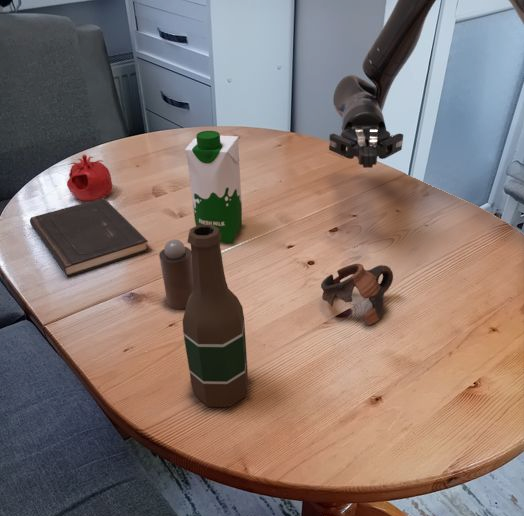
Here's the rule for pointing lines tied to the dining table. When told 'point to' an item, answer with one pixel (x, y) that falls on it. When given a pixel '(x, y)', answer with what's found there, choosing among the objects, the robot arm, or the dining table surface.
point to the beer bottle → (213, 326)
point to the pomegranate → (89, 180)
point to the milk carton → (216, 182)
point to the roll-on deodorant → (177, 273)
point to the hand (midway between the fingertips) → (368, 161)
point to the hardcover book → (88, 236)
